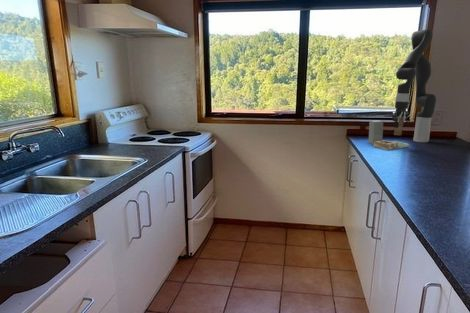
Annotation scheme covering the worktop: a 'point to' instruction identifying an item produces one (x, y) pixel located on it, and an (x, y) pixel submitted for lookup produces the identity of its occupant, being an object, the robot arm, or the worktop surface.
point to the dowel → (399, 126)
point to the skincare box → (375, 131)
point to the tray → (402, 144)
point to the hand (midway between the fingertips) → (398, 127)
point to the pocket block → (386, 145)
